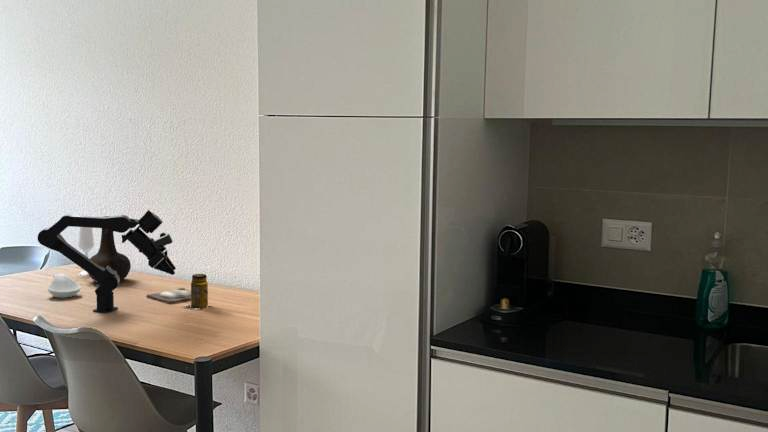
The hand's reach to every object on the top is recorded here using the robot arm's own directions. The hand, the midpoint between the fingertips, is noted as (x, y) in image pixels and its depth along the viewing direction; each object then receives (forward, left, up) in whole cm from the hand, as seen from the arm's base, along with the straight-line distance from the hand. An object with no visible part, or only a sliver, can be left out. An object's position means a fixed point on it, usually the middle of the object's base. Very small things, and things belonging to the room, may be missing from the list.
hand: (174, 271), depth 276 cm
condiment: (+3, -7, -14) cm, 16 cm away
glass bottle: (+39, +47, -14) cm, 62 cm away
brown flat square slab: (+16, +7, -13) cm, 22 cm away
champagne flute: (+53, +65, -14) cm, 85 cm away
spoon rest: (+13, +53, -14) cm, 56 cm away
